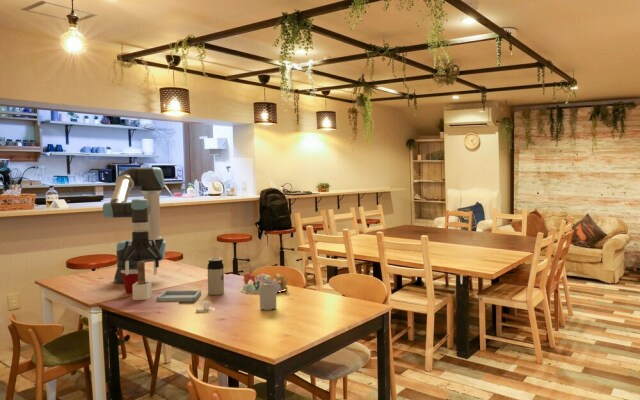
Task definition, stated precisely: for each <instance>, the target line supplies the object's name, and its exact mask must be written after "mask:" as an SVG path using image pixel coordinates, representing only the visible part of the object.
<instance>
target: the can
mask: <svg viewBox="0 0 640 400" xmlns="http://www.w3.org/2000/svg"><path fill="white" fill-rule="evenodd" d="M259 308H260V309H261V310H262V309H263V310H262V311H265V310H270V311H272V310H271V309H274V308H275V309H276V308H277V293H276V285H275V283H274V282H263V283H261V286H260V294H259ZM275 309H274V310H275Z"/></svg>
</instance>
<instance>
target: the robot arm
mask: <svg viewBox="0 0 640 400" xmlns="http://www.w3.org/2000/svg"><path fill="white" fill-rule="evenodd" d="M114 182H115V187H114V190H113V194H112V196H111V198H110V201H108V202H105V203H103V205H102V215H103V217H104V218H105V219H106V218H107V219H108V218H110V219H115V218H116V219H117V218H118V219H119V218H131V230H132V232H131V239H125V240H122V241H119V242H117V244H116V251H115V252H116V271H115V273H114V278H113V282H114V284H115V283H116V284H124V281H123V277H122V273H121V271H122V270H125V273H126V275H128V274H129V270H138V261H145V263H148V262H153V276H154V275H155V276H156V275H157V274H158V268H159V266H160V262H161V261H163V260H164V258H165V255H166V248H167V245H166V244H167V241H166V240H164V237H163V236H162V235H161V211H160V210H161V209H160V206H161V205H160V193H161V192H163V189H164V188H165V185H166V184H165V177H164V173H163V170H162V168H161V167H154V166H151V167H145V166H144V167H141V166H140V167H137V166H136V167H130V168H128V169H125V170H123V171H122V172H121V173H120V174H118V176H117V177H116V180H115V181H114ZM134 188H135V189H140V192H141V193H142V194H143V198H133V199H132V200H131V202H129V201H128V198H129V195H130V192H131V190H132V189H134Z"/></svg>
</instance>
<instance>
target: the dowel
mask: <svg viewBox="0 0 640 400" xmlns="http://www.w3.org/2000/svg"><path fill="white" fill-rule="evenodd" d="M145 263H146V262H145V261H138V285H143V284H145V282H146V269H145V268H146V267H145V265H146V264H145Z"/></svg>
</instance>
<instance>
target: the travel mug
mask: <svg viewBox="0 0 640 400" xmlns="http://www.w3.org/2000/svg"><path fill="white" fill-rule="evenodd" d="M207 261H208V264H207V294H208V295H211V296H220V295H224V293H225V280H224V279H225V278H224V276H225V274H224V271H225V270H224V269H225V268H224V267H225V266H224V263H223V261H224V258H222V257H210V258H208V259H207Z"/></svg>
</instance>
